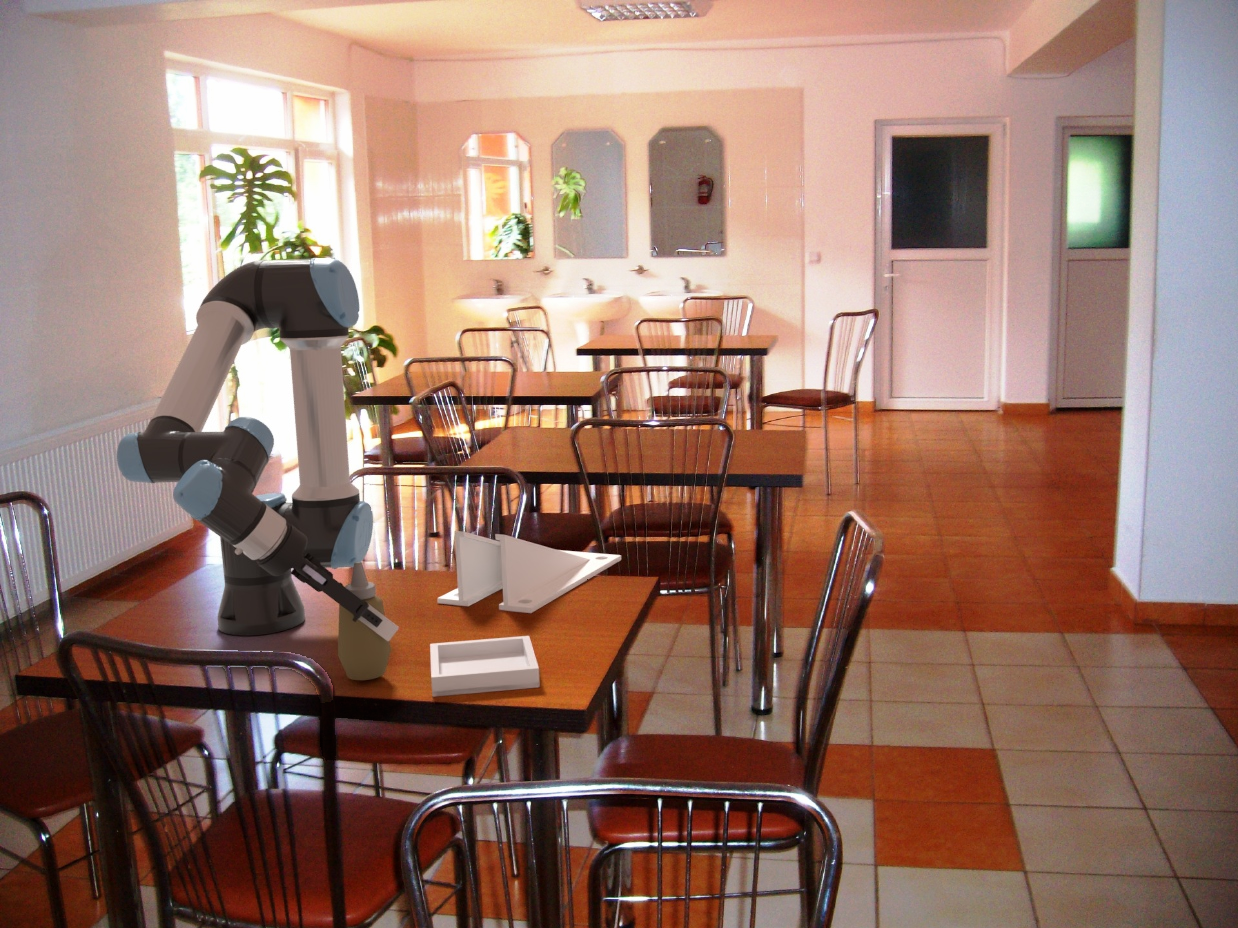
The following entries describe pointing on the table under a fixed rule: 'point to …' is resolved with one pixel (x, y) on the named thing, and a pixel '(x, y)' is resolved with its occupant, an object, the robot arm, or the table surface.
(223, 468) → the robot arm
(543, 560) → the white bracket
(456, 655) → the tray
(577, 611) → the table surface
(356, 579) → the squeeze bottle
